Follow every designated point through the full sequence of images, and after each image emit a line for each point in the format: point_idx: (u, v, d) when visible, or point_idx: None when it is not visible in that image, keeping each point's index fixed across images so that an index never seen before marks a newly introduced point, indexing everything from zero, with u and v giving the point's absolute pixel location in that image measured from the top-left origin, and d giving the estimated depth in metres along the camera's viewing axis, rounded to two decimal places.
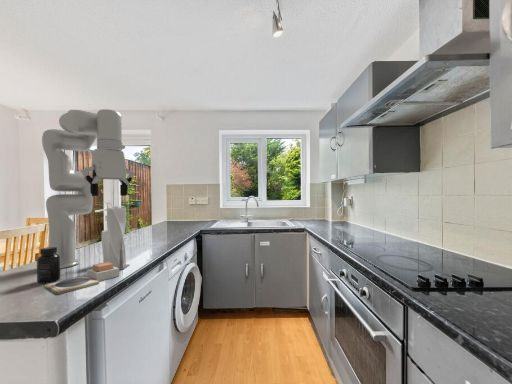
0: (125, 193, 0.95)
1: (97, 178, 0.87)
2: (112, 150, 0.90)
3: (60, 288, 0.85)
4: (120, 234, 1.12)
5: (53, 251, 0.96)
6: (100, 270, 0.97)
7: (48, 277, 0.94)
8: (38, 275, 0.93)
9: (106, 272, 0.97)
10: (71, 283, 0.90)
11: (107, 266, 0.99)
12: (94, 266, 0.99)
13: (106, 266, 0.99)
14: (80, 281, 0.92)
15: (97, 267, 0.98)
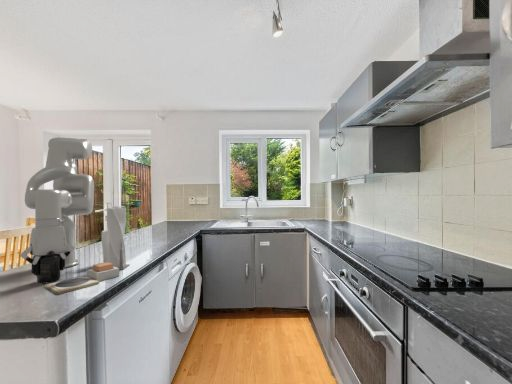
0: (62, 268, 0.98)
1: (37, 258, 0.93)
2: (50, 228, 0.95)
3: (60, 288, 0.85)
4: (120, 234, 1.12)
5: None
6: (100, 270, 0.97)
7: (48, 277, 0.94)
8: (38, 275, 0.93)
9: (106, 272, 0.97)
10: (71, 283, 0.90)
11: (107, 266, 0.99)
12: (94, 266, 0.99)
13: (106, 266, 0.99)
14: (80, 281, 0.92)
15: (97, 267, 0.98)
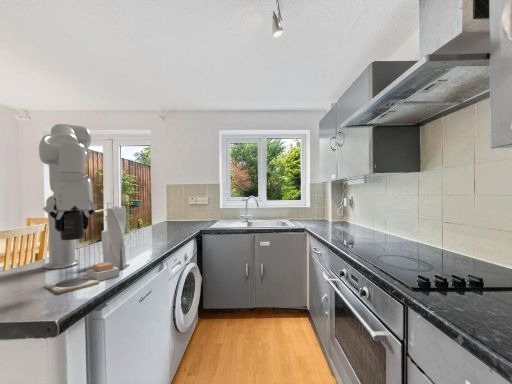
0: (85, 226, 0.93)
1: (60, 213, 0.88)
2: (74, 182, 0.90)
3: (60, 288, 0.85)
4: (120, 234, 1.12)
5: None
6: (100, 270, 0.97)
7: (72, 233, 0.89)
8: (62, 231, 0.88)
9: (106, 272, 0.97)
10: (71, 283, 0.90)
11: (107, 266, 0.99)
12: (94, 266, 0.99)
13: (106, 266, 0.99)
14: (80, 281, 0.92)
15: (97, 267, 0.98)
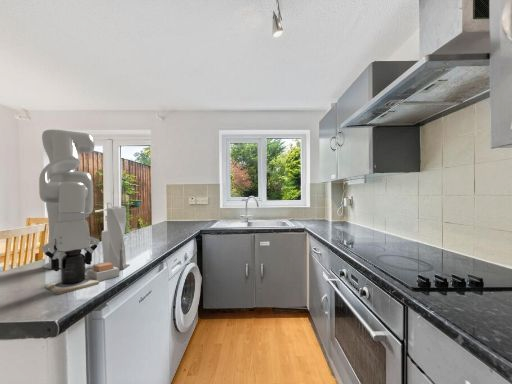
0: (89, 262, 0.94)
1: (58, 253, 0.87)
2: (74, 222, 0.90)
3: (60, 288, 0.85)
4: (120, 234, 1.12)
5: (77, 250, 0.91)
6: (100, 270, 0.97)
7: (73, 277, 0.89)
8: (63, 276, 0.88)
9: (106, 272, 0.97)
10: None
11: (107, 266, 0.99)
12: (94, 266, 0.99)
13: (106, 266, 0.99)
14: None
15: (97, 267, 0.98)
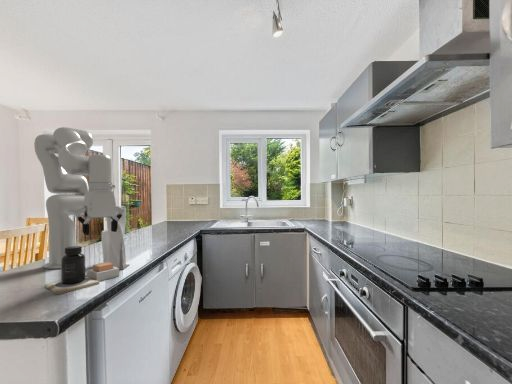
0: (115, 229, 1.02)
1: (88, 218, 0.95)
2: (102, 191, 0.98)
3: (60, 288, 0.85)
4: (120, 234, 1.12)
5: (78, 250, 0.91)
6: (100, 270, 0.97)
7: (73, 277, 0.89)
8: (63, 276, 0.88)
9: (106, 272, 0.97)
10: None
11: (107, 266, 0.99)
12: (94, 266, 0.99)
13: (106, 266, 0.99)
14: None
15: (97, 267, 0.98)
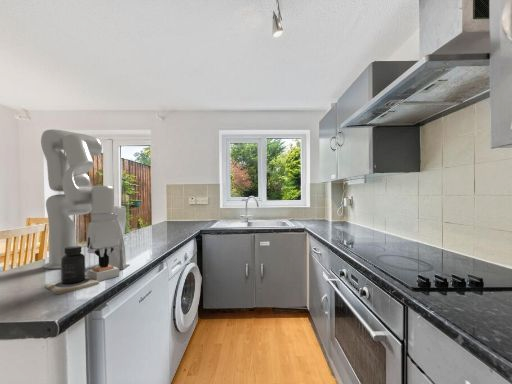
0: (106, 264, 0.99)
1: (101, 251, 0.98)
2: (105, 222, 0.99)
3: (60, 288, 0.85)
4: (120, 234, 1.12)
5: (77, 250, 0.91)
6: None
7: (73, 277, 0.89)
8: (63, 276, 0.88)
9: (106, 272, 0.97)
10: None
11: (107, 268, 0.99)
12: (94, 268, 0.99)
13: (106, 268, 0.99)
14: None
15: (97, 269, 0.98)
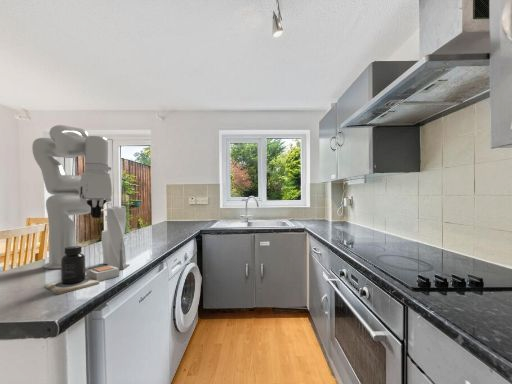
0: (98, 215, 1.00)
1: (93, 201, 0.98)
2: (98, 173, 0.98)
3: (60, 288, 0.85)
4: (120, 234, 1.12)
5: (77, 250, 0.91)
6: None
7: (73, 277, 0.89)
8: (63, 276, 0.88)
9: (106, 272, 0.97)
10: None
11: None
12: (94, 270, 0.99)
13: None
14: None
15: (97, 271, 0.98)
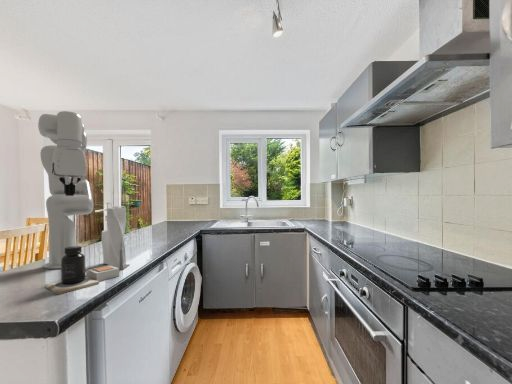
0: (72, 193, 0.97)
1: (66, 178, 0.96)
2: (71, 149, 0.96)
3: (60, 288, 0.85)
4: (120, 234, 1.12)
5: (77, 250, 0.91)
6: None
7: (73, 277, 0.89)
8: (63, 276, 0.88)
9: (106, 272, 0.97)
10: None
11: None
12: (94, 270, 0.99)
13: None
14: None
15: (97, 271, 0.98)
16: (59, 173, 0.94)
